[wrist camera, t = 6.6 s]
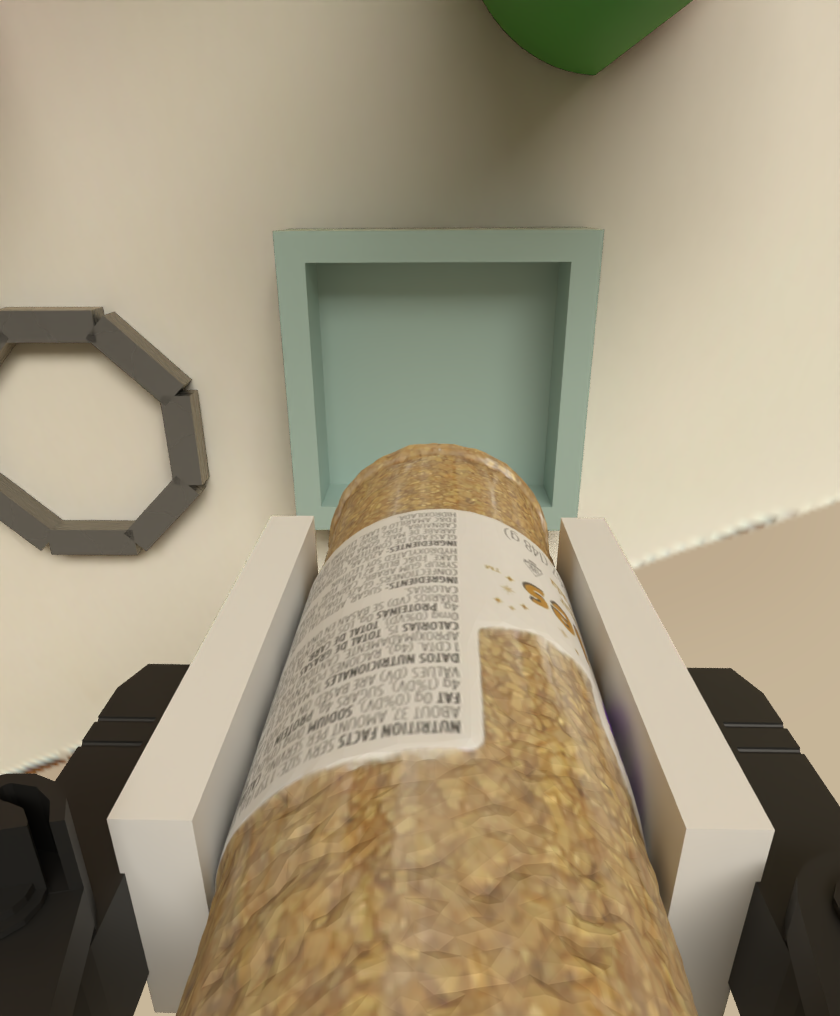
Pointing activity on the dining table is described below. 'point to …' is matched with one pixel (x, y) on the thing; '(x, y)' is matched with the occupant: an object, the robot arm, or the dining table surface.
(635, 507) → the dining table surface
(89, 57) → the dining table surface
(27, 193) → the dining table surface
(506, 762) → the white and tan cylinder
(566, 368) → the bin
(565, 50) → the green curved holder
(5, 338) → the socket ring
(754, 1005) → the robot arm
